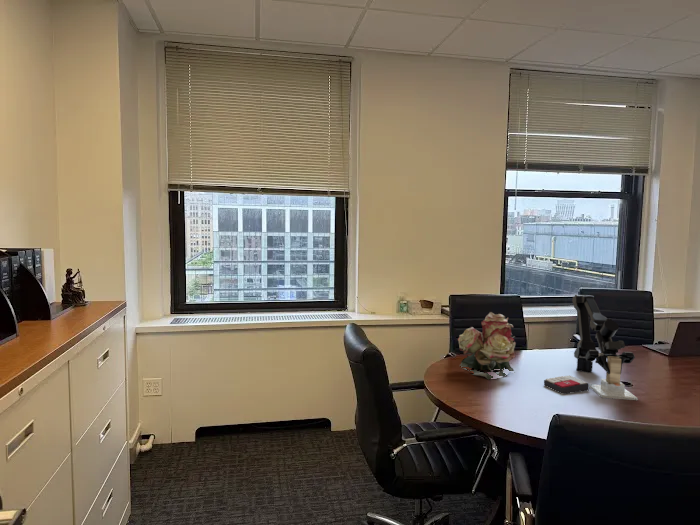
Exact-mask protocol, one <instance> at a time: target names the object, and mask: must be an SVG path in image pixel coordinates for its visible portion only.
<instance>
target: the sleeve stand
mask: <svg viewBox="0 0 700 525" xmlns="http://www.w3.org/2000/svg"><path fill="white" fill-rule="evenodd" d="M588 384H589V383H588ZM625 387H626V384H624V383H623V382H622V381H620V384H618V383H614V384H611V383H608V382H607V381H606V378H601V380H600V384H589V388H590V389H591V390H592V389H593V390H592V391H593V392H595V393H596V394H597V395H598V396H599V395H600V396H601V397H600V396H599V397H600V398H602V399H612V398H613V399H614V400H615V399H616V400H629V401H638V400H639V399H638V397H637V396H635V395H634V394H633V393H632V392H630V391H629V390H627V389H626V388H625Z"/></svg>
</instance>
